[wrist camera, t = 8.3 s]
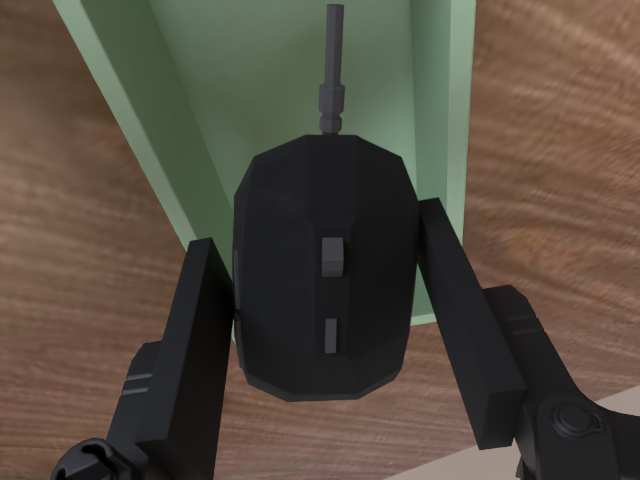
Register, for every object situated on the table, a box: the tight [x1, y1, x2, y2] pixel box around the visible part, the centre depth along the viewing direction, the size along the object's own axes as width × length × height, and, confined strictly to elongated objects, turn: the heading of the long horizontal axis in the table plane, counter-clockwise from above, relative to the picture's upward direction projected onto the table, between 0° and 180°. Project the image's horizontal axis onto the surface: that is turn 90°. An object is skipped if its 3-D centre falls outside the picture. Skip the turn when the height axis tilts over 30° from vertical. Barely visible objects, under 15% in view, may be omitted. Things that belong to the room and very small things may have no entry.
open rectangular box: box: [52, 0, 476, 344], centre depth 20 cm, size 13×21×7 cm, turn 10°
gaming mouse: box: [232, 4, 419, 402], centre depth 13 cm, size 6×15×4 cm, turn 178°
